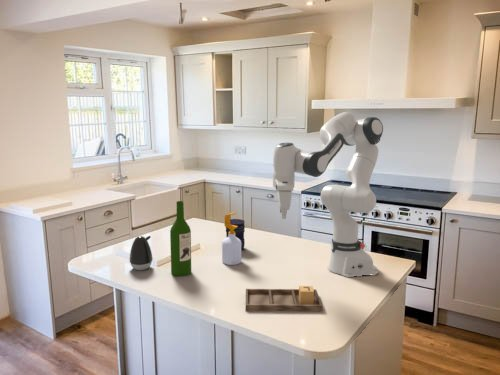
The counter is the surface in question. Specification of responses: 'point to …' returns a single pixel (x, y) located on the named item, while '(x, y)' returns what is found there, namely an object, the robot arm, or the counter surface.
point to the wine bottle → (180, 244)
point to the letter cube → (306, 295)
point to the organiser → (279, 300)
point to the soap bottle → (231, 245)
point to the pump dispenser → (141, 253)
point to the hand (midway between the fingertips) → (282, 215)
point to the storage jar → (238, 230)
